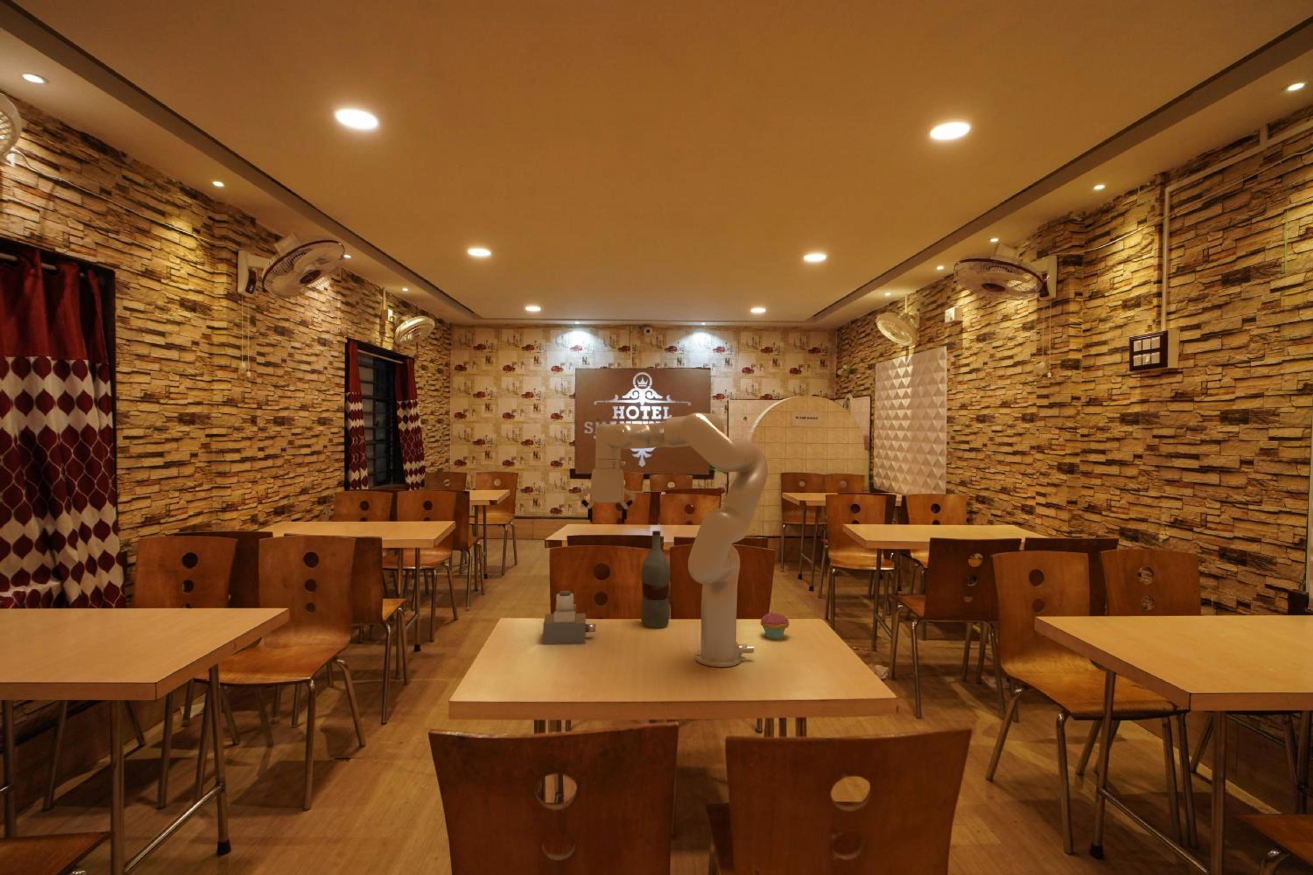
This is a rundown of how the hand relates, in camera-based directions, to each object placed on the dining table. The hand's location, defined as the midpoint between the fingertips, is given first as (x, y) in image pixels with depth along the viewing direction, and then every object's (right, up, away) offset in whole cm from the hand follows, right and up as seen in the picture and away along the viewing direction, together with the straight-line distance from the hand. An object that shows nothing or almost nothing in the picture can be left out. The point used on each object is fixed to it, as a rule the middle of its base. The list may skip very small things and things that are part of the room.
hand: (607, 521), depth 189 cm
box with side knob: (-11, -34, -2) cm, 36 cm away
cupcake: (+51, -35, +1) cm, 62 cm away
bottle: (+14, -35, +12) cm, 39 cm away
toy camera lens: (-12, -28, -3) cm, 31 cm away
